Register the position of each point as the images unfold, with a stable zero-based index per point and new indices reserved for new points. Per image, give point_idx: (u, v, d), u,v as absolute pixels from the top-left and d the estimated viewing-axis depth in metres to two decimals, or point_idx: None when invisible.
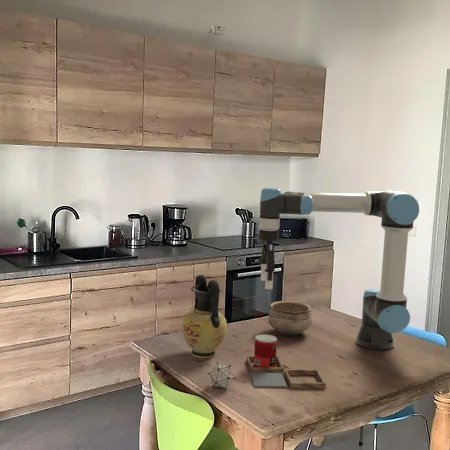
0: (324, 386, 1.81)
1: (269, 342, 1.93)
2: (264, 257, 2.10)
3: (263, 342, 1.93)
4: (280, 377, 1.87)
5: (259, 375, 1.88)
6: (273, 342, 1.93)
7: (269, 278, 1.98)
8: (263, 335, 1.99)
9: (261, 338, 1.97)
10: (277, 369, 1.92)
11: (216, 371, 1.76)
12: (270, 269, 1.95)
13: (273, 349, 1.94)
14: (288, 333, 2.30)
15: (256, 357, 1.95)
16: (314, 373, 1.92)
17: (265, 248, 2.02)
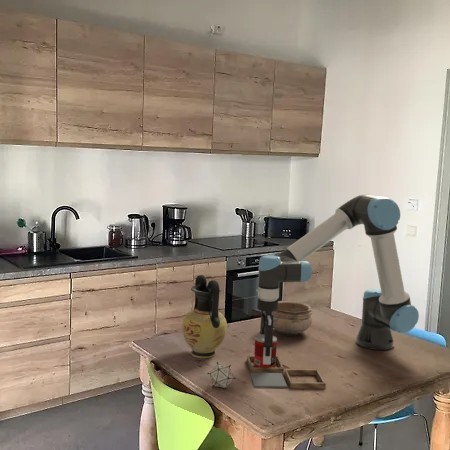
0: (324, 386, 1.81)
1: None
2: (263, 329, 1.99)
3: (263, 342, 1.93)
4: (280, 377, 1.87)
5: (259, 375, 1.88)
6: (273, 342, 1.93)
7: (267, 354, 1.91)
8: (263, 335, 1.99)
9: (261, 338, 1.97)
10: (277, 369, 1.92)
11: (216, 371, 1.76)
12: (268, 345, 1.89)
13: (273, 349, 1.94)
14: (288, 333, 2.30)
15: (256, 357, 1.95)
16: (314, 373, 1.92)
17: (264, 320, 1.93)
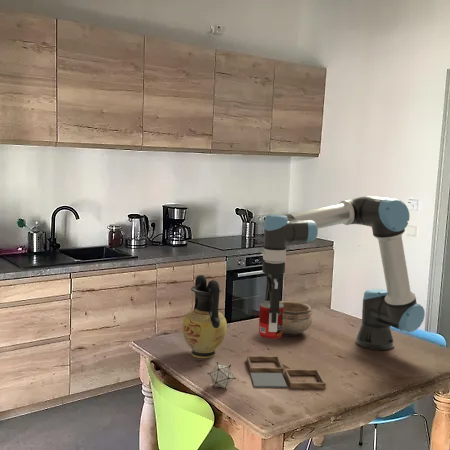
0: (324, 386, 1.81)
1: None
2: (269, 295, 1.85)
3: (269, 307, 1.78)
4: (280, 377, 1.87)
5: (259, 375, 1.88)
6: (279, 308, 1.79)
7: (273, 320, 1.77)
8: (268, 301, 1.85)
9: (266, 304, 1.82)
10: (277, 369, 1.92)
11: (216, 371, 1.76)
12: (274, 310, 1.75)
13: (279, 315, 1.79)
14: (288, 333, 2.30)
15: (261, 324, 1.81)
16: (314, 373, 1.92)
17: (270, 283, 1.79)
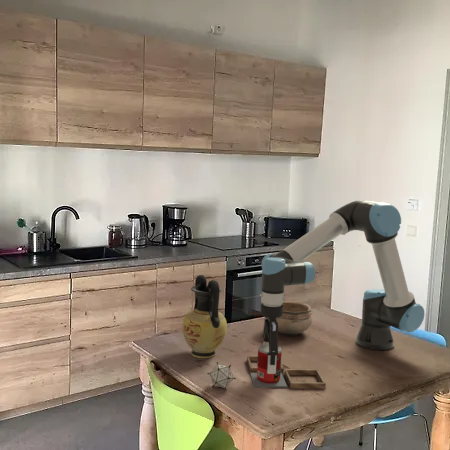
0: (324, 386, 1.81)
1: None
2: (267, 334, 1.88)
3: None
4: (280, 377, 1.87)
5: None
6: None
7: (272, 362, 1.77)
8: (267, 345, 1.87)
9: (264, 349, 1.84)
10: None
11: (216, 371, 1.76)
12: (273, 353, 1.75)
13: (277, 360, 1.81)
14: (288, 333, 2.30)
15: (259, 369, 1.83)
16: (314, 373, 1.92)
17: (268, 326, 1.80)
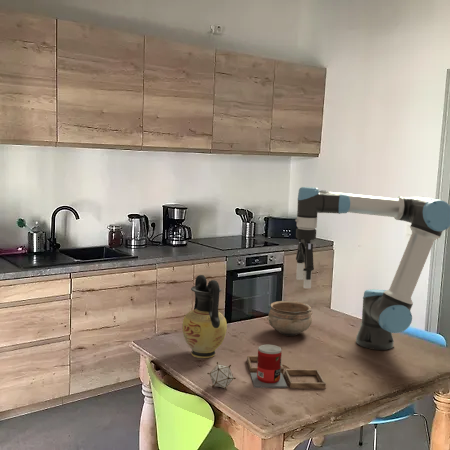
0: (324, 386, 1.81)
1: (273, 353, 1.80)
2: (300, 256, 2.10)
3: (267, 353, 1.80)
4: (280, 377, 1.87)
5: None
6: (277, 353, 1.81)
7: (308, 277, 1.97)
8: (267, 345, 1.87)
9: (264, 349, 1.84)
10: None
11: (216, 371, 1.76)
12: (309, 268, 1.95)
13: (277, 360, 1.81)
14: (288, 333, 2.30)
15: (259, 369, 1.83)
16: (314, 373, 1.92)
17: (303, 247, 2.02)
